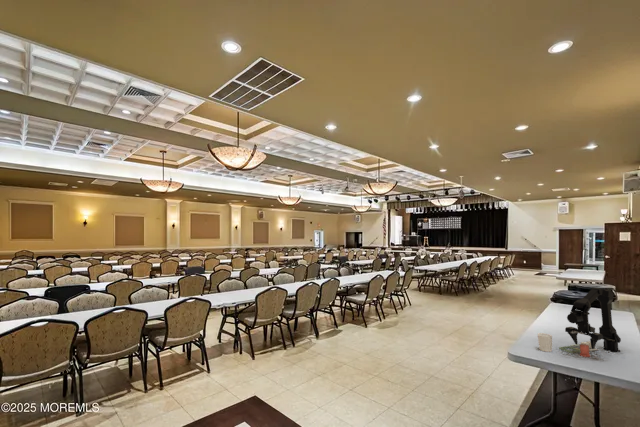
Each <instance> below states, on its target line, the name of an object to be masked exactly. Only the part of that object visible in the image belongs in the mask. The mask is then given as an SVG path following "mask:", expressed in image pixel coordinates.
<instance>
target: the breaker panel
mask: <svg viewBox="0 0 640 427" xmlns="http://www.w3.org/2000/svg"><path fill="white" fill-rule="evenodd" d="M580 344H581V343H580ZM580 344H579V343H577V345H576V344H570V345H569V346H570V347H573V348H577V349H580ZM598 351H599V349H597V348H594V349H591V348H589V353H591V352H593V353H594V352H598Z"/></svg>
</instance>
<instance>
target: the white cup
mask: <svg viewBox="0 0 640 427" xmlns="http://www.w3.org/2000/svg"><path fill="white" fill-rule="evenodd" d="M537 341H538V346H539V350H540V351H542V352H547V353H551V352H552V351H553V335H551V334H548V333H541V332H540V333H539V332H538V333H537Z"/></svg>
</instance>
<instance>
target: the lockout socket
mask: <svg viewBox="0 0 640 427" xmlns="http://www.w3.org/2000/svg"><path fill="white" fill-rule="evenodd" d="M569 349H570V350H569ZM558 350H561V351H564V352H567V353H570V354H576V353H580V349H577V348H573V347H570V345H567V346H559V347H558Z"/></svg>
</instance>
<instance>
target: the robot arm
mask: <svg viewBox="0 0 640 427" xmlns="http://www.w3.org/2000/svg"><path fill="white" fill-rule="evenodd" d="M614 296H615V295H614V292H612V290H610V289H609V290H608V289H607V290H606V289H602V288H598V287H591V288H590V290H589V291H588V292H587V294H586V295H584V297H582V298H579V299H577V300H575V301H574V303H573V305H572V307H571V310H570V312H569V313H568V315H567V316H566V318H567V321H568V322H569V323H571V324H575V326H577V327H573V326H566V327H565V329H564V330H565V332H566V333H567V334H568V335H569V337H570V338H571V340H572V341H573V343H574V345H577V344H578V334H580V335H584V336H587V337H588V336H589V337H590V338H589V340H590V342H591V347H592V349H594V347H596V346H597V345H596V344H597V343H598V341H601V340H603V347H602V349H603V350H605V351H609V352H612V353H617V352H618V353H619V352H621V350H620V349H619V344H620V343H621V341H622V340H621V339H622V338H621V337H620V336H619V335H618V333H617V329H616V328H615V326H613V319H612V318H613V317H612V308H611V307H612V306H611V304H612V302H613V301H614ZM596 299H597V300H598V302H599V304H600V312H601V313H600V314H601V322H602V325H601V326H600V327H598V330H599V331H598V332H599V333H598V332H596V328H595V327H594V326H591V323H589V316H590V312H589V311H590V310H591V308H592V306H591V304H592V303H594V301H596Z"/></svg>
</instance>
